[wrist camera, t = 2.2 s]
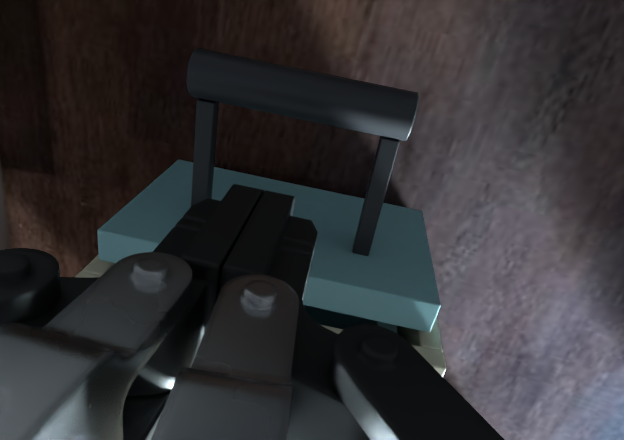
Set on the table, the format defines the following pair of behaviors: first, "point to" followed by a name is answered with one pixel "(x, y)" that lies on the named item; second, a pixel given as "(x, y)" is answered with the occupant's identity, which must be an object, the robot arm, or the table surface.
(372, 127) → the drawer
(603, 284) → the table surface
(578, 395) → the table surface
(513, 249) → the table surface
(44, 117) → the table surface
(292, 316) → the robot arm
